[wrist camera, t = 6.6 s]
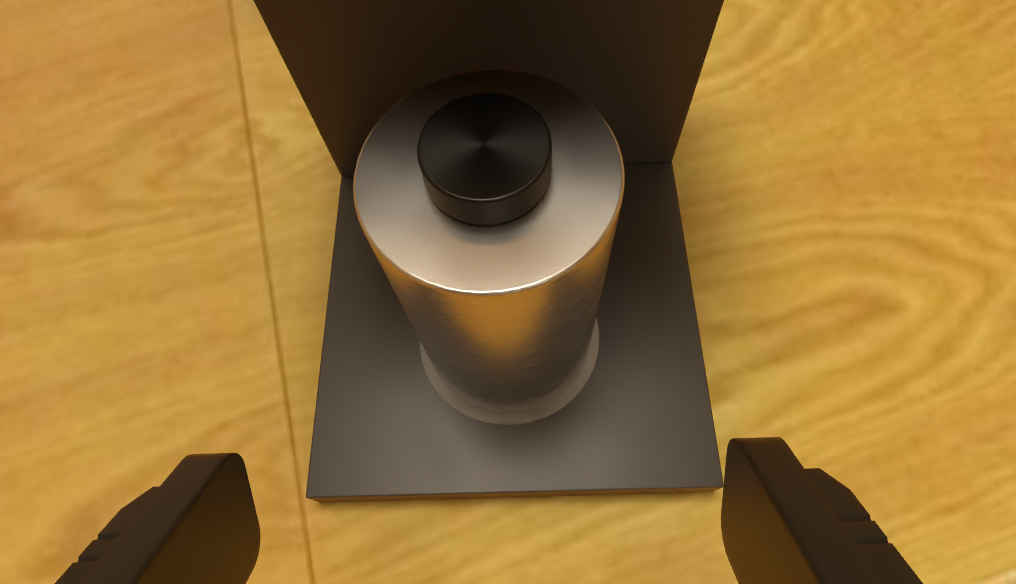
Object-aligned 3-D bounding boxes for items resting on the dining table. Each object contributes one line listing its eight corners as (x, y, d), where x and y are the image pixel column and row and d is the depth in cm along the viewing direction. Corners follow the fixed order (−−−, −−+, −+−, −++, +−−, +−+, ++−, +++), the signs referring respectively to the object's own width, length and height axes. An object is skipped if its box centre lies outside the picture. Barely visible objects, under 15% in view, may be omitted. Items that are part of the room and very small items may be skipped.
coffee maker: (713, 492, 23) (1372, 193, 5) (318, 502, 24) (-438, 267, 5) (653, 98, 31) (816, -580, 13) (358, 112, 31) (110, -519, 13)
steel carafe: (596, 273, 25) (640, 47, 14) (580, 426, 23) (618, 293, 12) (446, 255, 26) (378, 27, 15) (413, 402, 23) (303, 255, 12)
